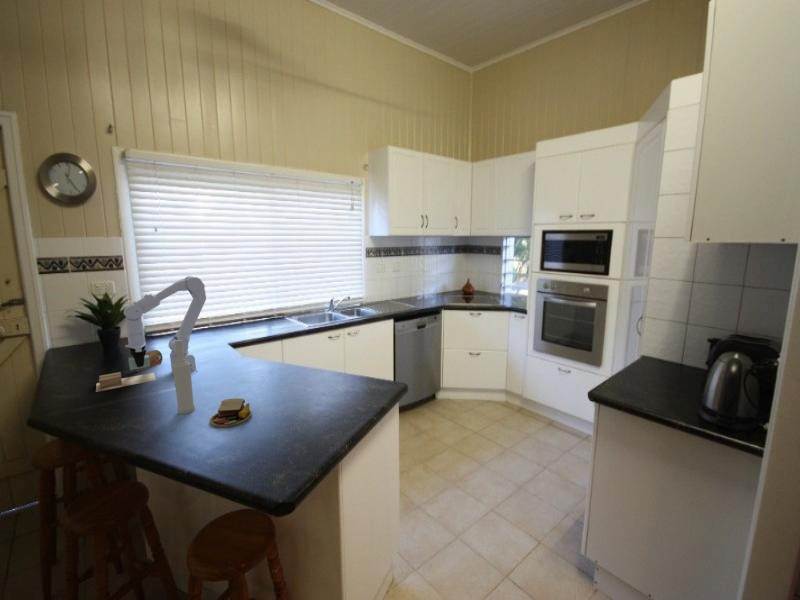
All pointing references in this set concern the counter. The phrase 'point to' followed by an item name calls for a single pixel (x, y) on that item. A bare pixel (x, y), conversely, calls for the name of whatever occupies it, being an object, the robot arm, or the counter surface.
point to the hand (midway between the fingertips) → (140, 365)
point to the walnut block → (110, 380)
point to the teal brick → (134, 366)
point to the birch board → (130, 381)
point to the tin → (152, 359)
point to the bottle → (183, 381)
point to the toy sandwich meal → (231, 413)
